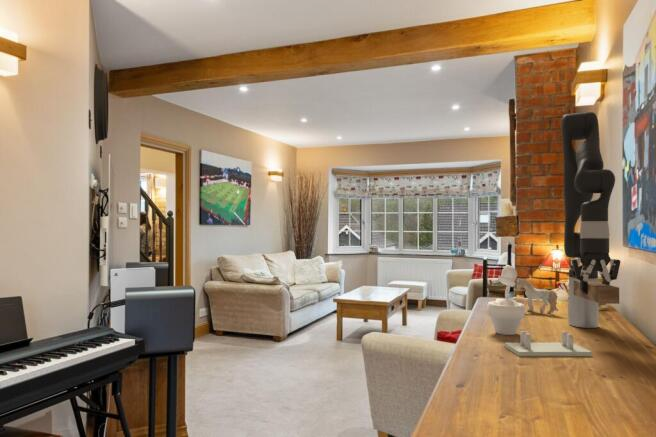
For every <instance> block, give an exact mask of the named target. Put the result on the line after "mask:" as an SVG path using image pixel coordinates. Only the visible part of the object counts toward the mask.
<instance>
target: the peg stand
mask: <svg viewBox="0 0 656 437" xmlns="http://www.w3.org/2000/svg"><path fill="white" fill-rule="evenodd" d="M519 333H520V336H519V338H520V340H519V341H520V342H504V343H503V344H504V345H503V346H504V348H506V349H507V350H508V351H510V352H511V353H513V354H515V355H516V356H518V357H593V354H592V353H593V352H592V350H589V349H587V348H584V347H582V346H580V345H578V344H576V343H574V334H573V333H568V331H566V330H561V342H531V341H532V339H531V337H532V336H531V333H526V331H524V330H520V332H519Z"/></svg>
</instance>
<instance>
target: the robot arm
mask: <svg viewBox="0 0 656 437" xmlns="http://www.w3.org/2000/svg"><path fill="white" fill-rule="evenodd" d="M560 128H561V129H560V131H561V132H560V133H561V142H562V155H563V156H562V157H563V201H564V232H563V234H564V237H563V238H564V239H563V242H564V243H563V249H564V254H565V256H566V258H570V259H569V265H570V268H569V270H568V297H567V298H568V299H567V300H568V301H567V302H568V304H567V306H568V307H567V308H568V312H567V314H568V316H567V320H568V325H569V326H572V327H577V328H583V329H585V328H586V329H596V328H599V303H597V302H594V301H591V300H588V299H585V298H582V297H578V296H575V295H574V281H580V291H581V292H582V294H588V282H587V281H594V282H598V283H599V275H600V277H601V280H602V281H601V283H602V284H606V285H611V281H614V280H617V279H618V275H619V270H620V266H621V262H622V261H621V260H619V259H616V258H611V257H610V235H611V234H610V226H609V205H610V199H611V195H612V192H613V190H614V187H615V184H616V176H615V174H614V172H613V171H611V169H608V168H607V169H605V168H604V167H605V166H604V160H603V156H602V154H601V147H600V142H601V138H600V129H599V128H600V127H599V119H598V115H597V114H596V113H595V112H593V111H587V112H586V111H584V112H575V113H568V114H567V113H566V114H564V115H563V116H562V117H561V122H560ZM581 140H584V141H583V142H582V143H581V145H580V146H578V148H577V151H576V149H575V147H574V144H573V141H581ZM594 194H599V197H598V198H597V199H594V200H592V199H593V198H594ZM580 218H581V219H580ZM579 219H580V227H579V228H580V229H579V230H580V231H579V232H576V231H575V227H576V224H577V223H578V221H579ZM580 263H581V265H580ZM608 265H609V266H610V268H609V270H608V268H607V266H608Z"/></svg>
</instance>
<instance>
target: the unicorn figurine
mask: <svg viewBox="0 0 656 437" xmlns="http://www.w3.org/2000/svg"><path fill="white" fill-rule="evenodd" d="M514 283H515V284H516V290H517V291H518V292H519V291H521V289H522V287H523V288H524V289H525V292H524V293H525V296H526V298H527V300H526V302H527V305H528V309H527V310H526V311H527V312H528V313H529V312H534V305H533V303H532V300H537V301H538V300H540V301H542V303H543V305H542V306H540V309H539V312H540V314H541V315H542V314H543V313H544V311H545V310H546V307H547V306H548V304H549V310H548V311H547V312H546V314H550V313H551V314H553V313H554V311H556V312H559V309H558V307H557V305H558V302H557V301H558V293H556V292H555V291H554V290H553V289H552V290H551V289H550V290H549V289H545V288H544V289H543V288H541V289H539V288H536V287H535V286H534V284H533V283H532V282H530V281H529V280H527V279H526V278H519V279H517V278H516V279H515V281H514Z"/></svg>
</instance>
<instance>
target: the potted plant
mask: <svg viewBox="0 0 656 437" xmlns="http://www.w3.org/2000/svg"><path fill="white" fill-rule="evenodd" d="M495 263H496V265H498V262H495ZM493 275H495V272H493ZM497 276H498V278H497V280H498V281H499V282H500V283H501V284H502V285H505V286H506V287H505V290H504V298H496V299H495V300H493V301H488V302H487V304H486V305H487V307H486V311H487V312H486V313H487V316H489V317H490V320H491V323H492V325H493V329H494V332H495V333H497V334H499V335H503V336H514V335H516V334H517V333H518V331H519V330H518V329H519V326H520V324H521V321H522V319H524V318H525V316H526V311H525V310H526V307H525V306H526V304H524V303H522V302H517V301H516V300H515V299H512V298H510V290H511V288H513V287H515V286H517V284H516V283H515V282H514V281H516V279H517V277H518V272H517V269H515V268H514V267H513V266H512V265H510V264H505V266H504V267H503V269H502V270H501V275H497Z"/></svg>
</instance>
